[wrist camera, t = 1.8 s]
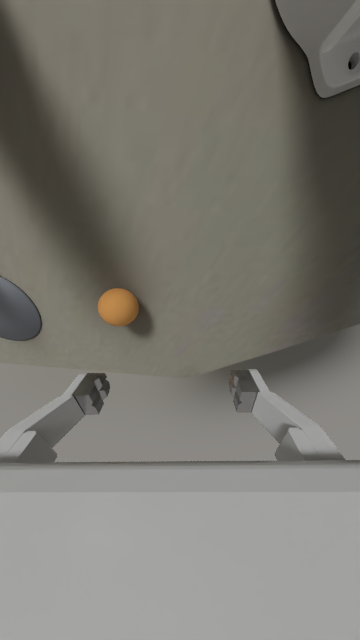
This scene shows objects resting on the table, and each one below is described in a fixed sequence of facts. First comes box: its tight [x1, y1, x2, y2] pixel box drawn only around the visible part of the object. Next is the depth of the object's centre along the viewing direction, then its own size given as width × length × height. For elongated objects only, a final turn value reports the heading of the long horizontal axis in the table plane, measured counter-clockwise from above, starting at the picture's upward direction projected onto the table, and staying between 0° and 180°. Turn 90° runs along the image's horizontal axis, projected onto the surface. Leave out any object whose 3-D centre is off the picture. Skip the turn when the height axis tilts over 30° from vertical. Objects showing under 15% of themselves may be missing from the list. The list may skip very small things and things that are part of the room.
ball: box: [98, 288, 139, 326], centre depth 22 cm, size 6×6×6 cm
